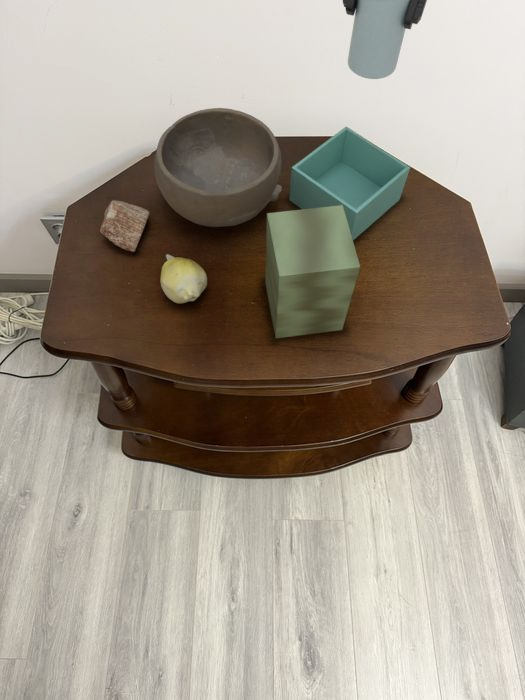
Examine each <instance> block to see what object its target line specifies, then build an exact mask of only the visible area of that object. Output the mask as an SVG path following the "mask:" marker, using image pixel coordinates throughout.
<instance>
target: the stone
mask: <svg viewBox="0 0 525 700" xmlns="http://www.w3.org/2000/svg"><path fill="white" fill-rule="evenodd" d="M149 217H150V211H149V210H148V209H146V208H144V207H141V206H138V205H135V204H133V203H132V204H131V203H128V202H127V201H123V200H111V202H110V203H109V204H108V206H106V209H105V211H104V215H103V221H102V223H101V224H100V228H99V232H100V233H101V234H102V235H103V236H104V237H106V239H108V240H109V242H112V244H113V245H115V246H117V247H119V248H120V249H123V250H125V251H126V252H130V253H135V252H136V250H137V247H138V244H139V242H140V240H141V237H142V234H143V232H144V230H145V226H146V224H147V221H148V219H149Z"/></svg>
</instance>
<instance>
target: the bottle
mask: <svg viewBox="0 0 525 700" xmlns="http://www.w3.org/2000/svg"><path fill="white" fill-rule="evenodd" d="M410 2H411V0H357V5H356V10H355V13H354V17H353V18H354V19H353V23H352V24H353V25H352V26H353V27H352V30H351V37H350V43H349V50H348V56H347V65H348V68H349V70H350V71H351V72H353V73H354V74H355V75H357V76H359V77H361V78H364V79H368V80H380V79H384V78H387V77H389V76H391V75H392V74H393V73H394V72H395V70H396V68H397V65H398V61H399V57H400V52H401V49H402V44H403V41H404V37H405V33H406V30H407V29H406V28H404V21H405V18H406V14H407V11H408V8H409V5H410Z"/></svg>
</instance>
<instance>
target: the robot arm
mask: <svg viewBox="0 0 525 700" xmlns="http://www.w3.org/2000/svg"><path fill="white" fill-rule="evenodd" d="M427 2H428V0H411V2H410V5H409V8H408V11H407V14H406V18H405V21H404V28H406V29H405V30H411V29H412V27H413V25H418V24H419V23H420V21H421V20H422V17H423V13H424V11H425V7H426V4H427ZM342 4H343V7H344V8H345V13H346V15H349V16H354V17H355V12H356V5H357V0H342Z"/></svg>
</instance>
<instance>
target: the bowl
mask: <svg viewBox="0 0 525 700" xmlns="http://www.w3.org/2000/svg"><path fill="white" fill-rule="evenodd" d="M155 150H156V151H155V156H154V163H153V170H154V171H153V172H154V177H155V181H156V184H157V187H158V190H159V192H160V193H161V195H162V197H163V198H164V200H165V202H166V203H167V204H168V205H169V207H170V208H171V209H172V210H173V211H174V212H176V213H177V214H178V215H180V216H181V217H182V218H184V219H186V220H188V221H190V222H192V223H194V224H197V225H200V226H204V227H209V228H221V227H222V228H223V227H233V226H237V225H240V224H241V225H242V224H243V223H245V222H247V221H250V220H252V219H254V218H255V217H256V216H257V215H259V214H260V213H261V212H262V211H263V210H264V209H265V208H266V207H267V205H268V204H269V203H270V202H277V201H278V200H279V196H280V194H281V192H282V190H283V186H282V185H280V184H279V180H280V176H281V171H282V153H281V148H280V146H279V143H278V140H277V139H276V135H274V133H273V131H272V129H270V127H268V126H267V124H265V122H263V121H262V120H260V119H259V118H257V117H255V116H253V115H251V114H248V113H246V112H244V111H240V110H236V109H232V108H227V107H213V108H205V109H200V110H197V111H194V112H191V113H188V114H186V115H184V116H182V117H180V118H179V119H177V120H176V121H174V122H173V123H172V124H171V126H169V127H168V128H166V130H165V131H164V132H163V133H162V135H161V136H160V138H159V140H158V144H157V147H156V149H155Z"/></svg>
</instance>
